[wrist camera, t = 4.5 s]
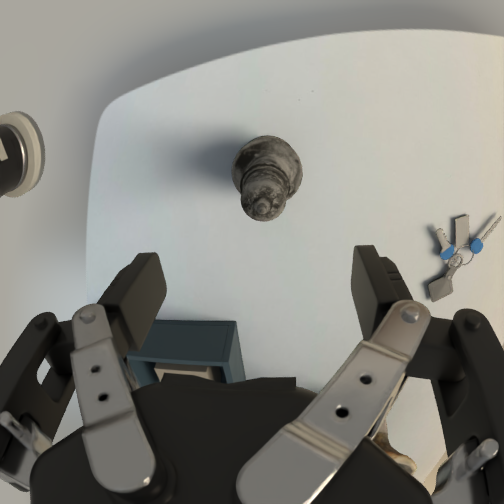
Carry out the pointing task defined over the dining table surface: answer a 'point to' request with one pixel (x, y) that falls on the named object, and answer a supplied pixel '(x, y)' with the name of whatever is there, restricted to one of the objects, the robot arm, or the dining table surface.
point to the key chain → (444, 284)
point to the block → (188, 370)
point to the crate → (189, 349)
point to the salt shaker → (266, 176)
